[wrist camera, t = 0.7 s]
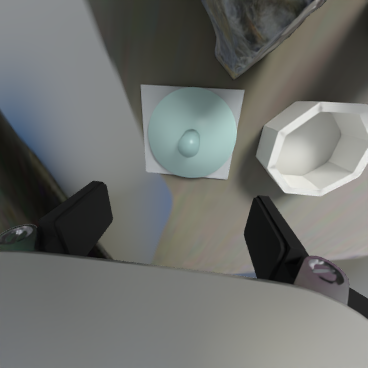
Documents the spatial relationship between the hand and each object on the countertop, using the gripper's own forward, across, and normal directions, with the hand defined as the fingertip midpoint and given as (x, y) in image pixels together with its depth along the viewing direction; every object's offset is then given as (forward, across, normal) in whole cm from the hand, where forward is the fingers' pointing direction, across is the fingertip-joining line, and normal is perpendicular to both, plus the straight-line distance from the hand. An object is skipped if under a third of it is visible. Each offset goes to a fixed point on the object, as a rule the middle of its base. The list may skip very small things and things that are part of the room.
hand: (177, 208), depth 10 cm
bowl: (+19, -17, -1) cm, 25 cm away
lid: (+19, 0, -1) cm, 19 cm away
